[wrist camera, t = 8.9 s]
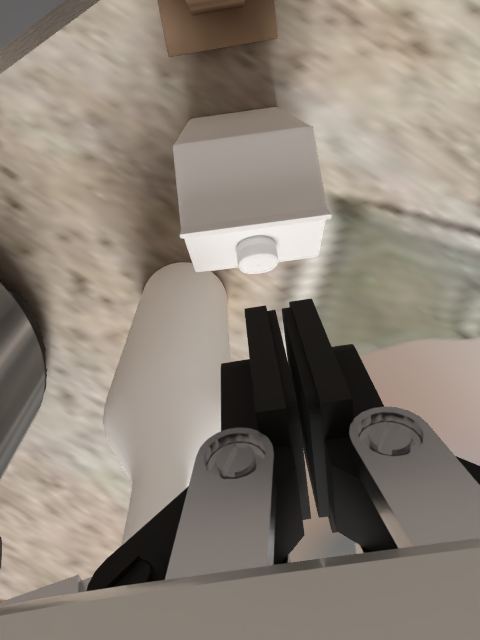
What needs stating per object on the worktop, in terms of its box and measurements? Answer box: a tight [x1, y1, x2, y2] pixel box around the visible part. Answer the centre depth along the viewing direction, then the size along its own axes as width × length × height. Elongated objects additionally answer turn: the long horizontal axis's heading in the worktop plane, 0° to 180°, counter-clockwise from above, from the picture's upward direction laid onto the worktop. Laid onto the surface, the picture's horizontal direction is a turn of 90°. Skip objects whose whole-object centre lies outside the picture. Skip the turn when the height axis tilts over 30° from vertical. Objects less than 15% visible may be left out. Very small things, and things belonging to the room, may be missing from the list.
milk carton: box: [173, 107, 332, 274], centre depth 30 cm, size 7×7×19 cm
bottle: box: [103, 262, 230, 545], centre depth 31 cm, size 8×8×30 cm
